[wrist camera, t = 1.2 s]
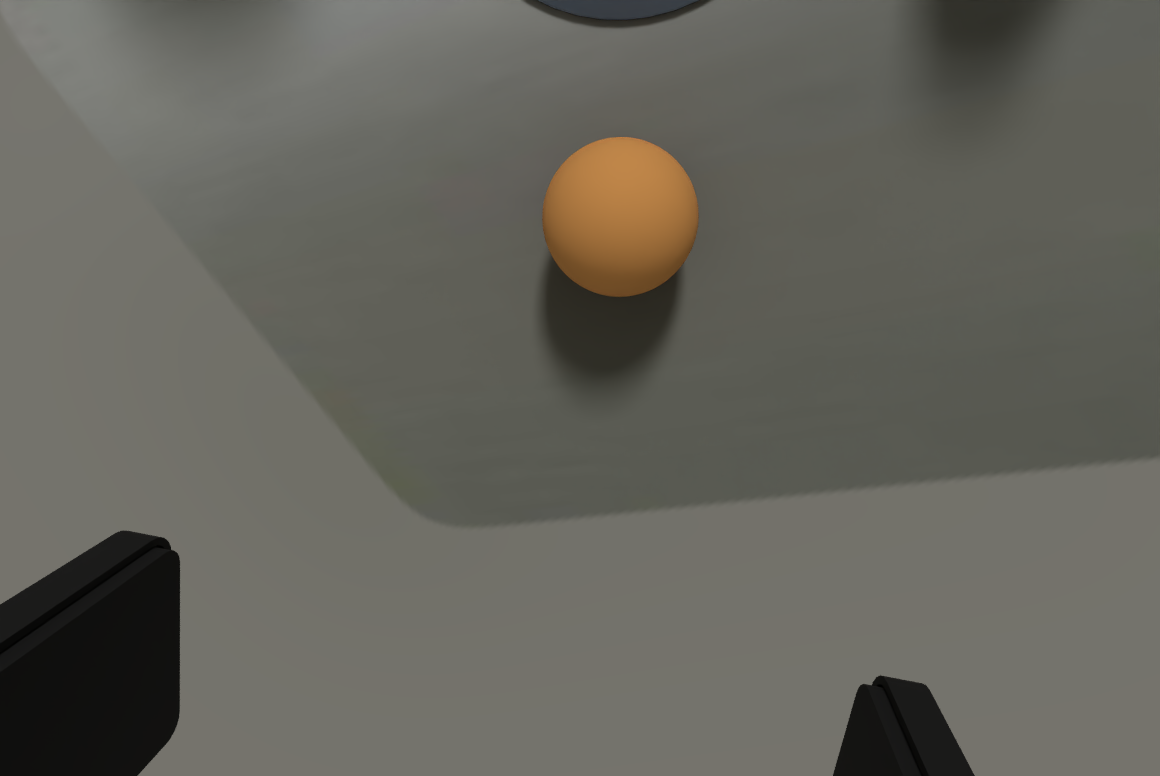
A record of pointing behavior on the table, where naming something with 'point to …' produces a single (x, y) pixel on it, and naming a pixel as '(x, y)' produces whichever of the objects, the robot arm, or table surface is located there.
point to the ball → (620, 216)
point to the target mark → (617, 8)
